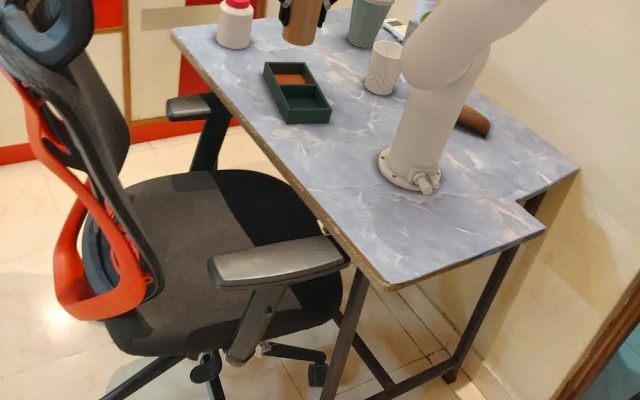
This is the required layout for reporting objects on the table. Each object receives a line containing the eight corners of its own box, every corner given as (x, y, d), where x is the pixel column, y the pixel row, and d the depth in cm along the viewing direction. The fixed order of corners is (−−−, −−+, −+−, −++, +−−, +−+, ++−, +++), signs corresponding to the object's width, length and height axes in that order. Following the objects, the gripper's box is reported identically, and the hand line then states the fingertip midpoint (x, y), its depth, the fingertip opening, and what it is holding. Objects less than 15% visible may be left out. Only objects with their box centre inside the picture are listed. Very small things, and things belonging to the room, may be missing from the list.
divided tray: (302, 75, 134) (305, 61, 132) (328, 123, 122) (332, 109, 120) (262, 75, 131) (264, 61, 129) (285, 124, 119) (288, 110, 117)
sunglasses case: (490, 119, 136) (499, 105, 130) (481, 144, 134) (489, 132, 128) (416, 92, 138) (421, 77, 132) (406, 117, 136) (411, 103, 130)
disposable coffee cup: (337, 29, 155) (351, -27, 145) (375, 34, 158) (392, -21, 148) (344, 50, 148) (359, -8, 138) (385, 54, 150) (402, -2, 140)
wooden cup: (318, 46, 121) (328, 0, 114) (287, 45, 118) (296, -2, 112) (308, 30, 125) (317, -16, 119) (277, 29, 123) (286, -18, 116)
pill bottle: (219, 30, 142) (224, -15, 135) (251, 36, 143) (257, -7, 135) (213, 44, 136) (217, -1, 129) (246, 52, 137) (252, 7, 130)
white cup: (395, 83, 141) (407, 45, 134) (394, 100, 135) (407, 61, 128) (363, 75, 140) (374, 36, 134) (360, 92, 134) (372, 53, 128)
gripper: (279, -62, 102) (264, 32, 114) (369, -53, 109) (345, 34, 121) (268, -78, 107) (254, 13, 119) (354, -69, 114) (333, 17, 126)
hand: (300, 23), depth 120 cm, fingers closed on wooden cup, 6 cm apart
